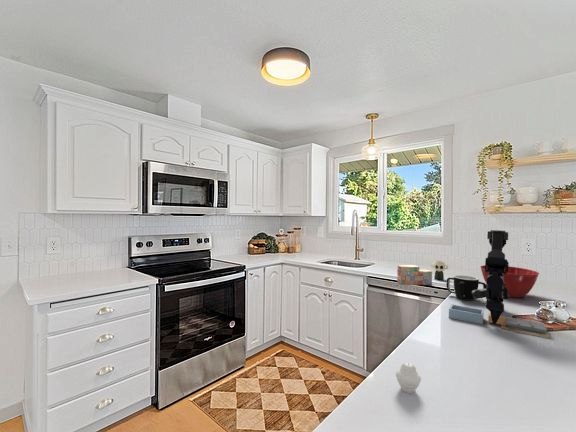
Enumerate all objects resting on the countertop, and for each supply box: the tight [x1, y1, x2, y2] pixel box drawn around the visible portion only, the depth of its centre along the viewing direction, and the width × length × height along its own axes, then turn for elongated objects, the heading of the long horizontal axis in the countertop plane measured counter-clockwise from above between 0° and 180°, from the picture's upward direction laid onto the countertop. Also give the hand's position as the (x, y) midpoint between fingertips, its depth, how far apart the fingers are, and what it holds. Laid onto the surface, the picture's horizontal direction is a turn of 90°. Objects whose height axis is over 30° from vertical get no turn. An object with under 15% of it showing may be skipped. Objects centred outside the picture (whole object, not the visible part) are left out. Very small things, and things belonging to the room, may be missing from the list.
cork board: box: [500, 323, 550, 339], centre depth 124 cm, size 11×15×1 cm
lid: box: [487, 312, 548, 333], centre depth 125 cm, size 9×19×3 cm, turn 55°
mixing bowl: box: [480, 265, 540, 299], centre depth 179 cm, size 28×28×16 cm
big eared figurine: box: [430, 260, 449, 280], centre depth 218 cm, size 11×7×13 cm, turn 59°
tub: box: [448, 304, 485, 325], centre depth 135 cm, size 9×13×4 cm
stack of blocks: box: [396, 264, 433, 286], centre depth 202 cm, size 21×6×12 cm, turn 94°
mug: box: [446, 274, 486, 301], centre depth 168 cm, size 16×16×12 cm
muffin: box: [395, 362, 422, 394], centre depth 79 cm, size 6×6×7 cm
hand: (494, 320), depth 130 cm, fingers open, 9 cm apart
